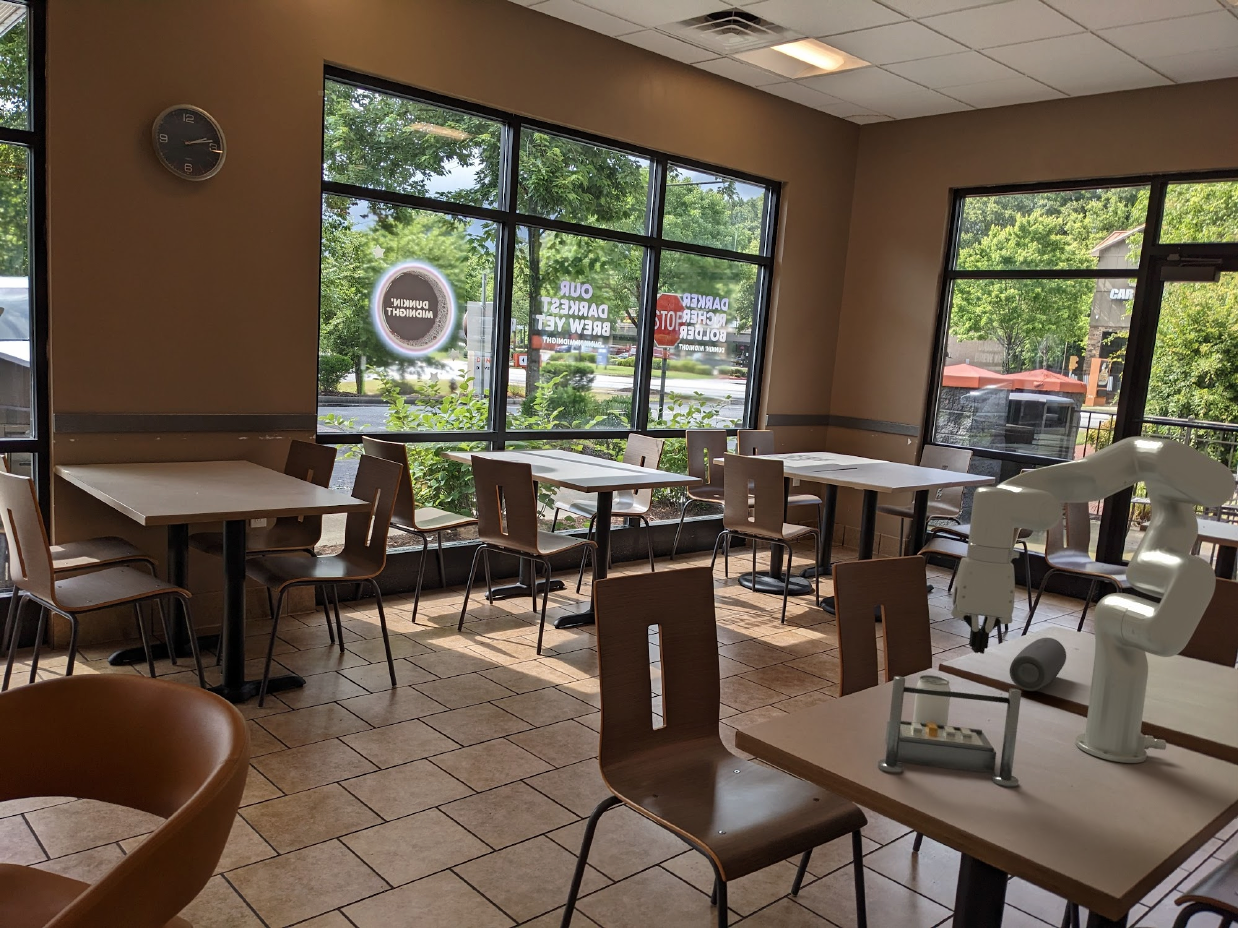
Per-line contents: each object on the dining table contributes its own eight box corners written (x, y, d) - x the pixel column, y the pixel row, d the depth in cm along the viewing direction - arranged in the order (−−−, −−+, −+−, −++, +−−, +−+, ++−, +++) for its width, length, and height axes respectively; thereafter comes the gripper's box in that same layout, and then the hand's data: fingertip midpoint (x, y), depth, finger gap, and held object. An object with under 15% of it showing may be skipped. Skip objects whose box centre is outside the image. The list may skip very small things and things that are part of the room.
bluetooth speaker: (1026, 669, 242) (1031, 631, 241) (1066, 678, 237) (1070, 639, 236) (1004, 690, 224) (1008, 649, 223) (1046, 700, 218) (1051, 658, 217)
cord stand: (1014, 778, 172) (1024, 687, 170) (1021, 788, 168) (1031, 695, 166) (876, 762, 175) (885, 672, 174) (879, 771, 171) (888, 680, 169)
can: (947, 746, 186) (953, 686, 184) (913, 741, 187) (919, 682, 186) (943, 734, 192) (949, 676, 191) (909, 730, 193) (915, 672, 192)
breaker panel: (980, 752, 184) (983, 723, 183) (993, 773, 174) (997, 742, 173) (885, 741, 186) (888, 712, 185) (893, 761, 176) (896, 731, 176)
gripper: (1025, 554, 178) (1013, 650, 179) (942, 546, 179) (932, 641, 181) (1037, 562, 170) (1025, 661, 172) (951, 553, 172) (940, 652, 174)
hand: (977, 651), depth 177 cm, fingers closed
